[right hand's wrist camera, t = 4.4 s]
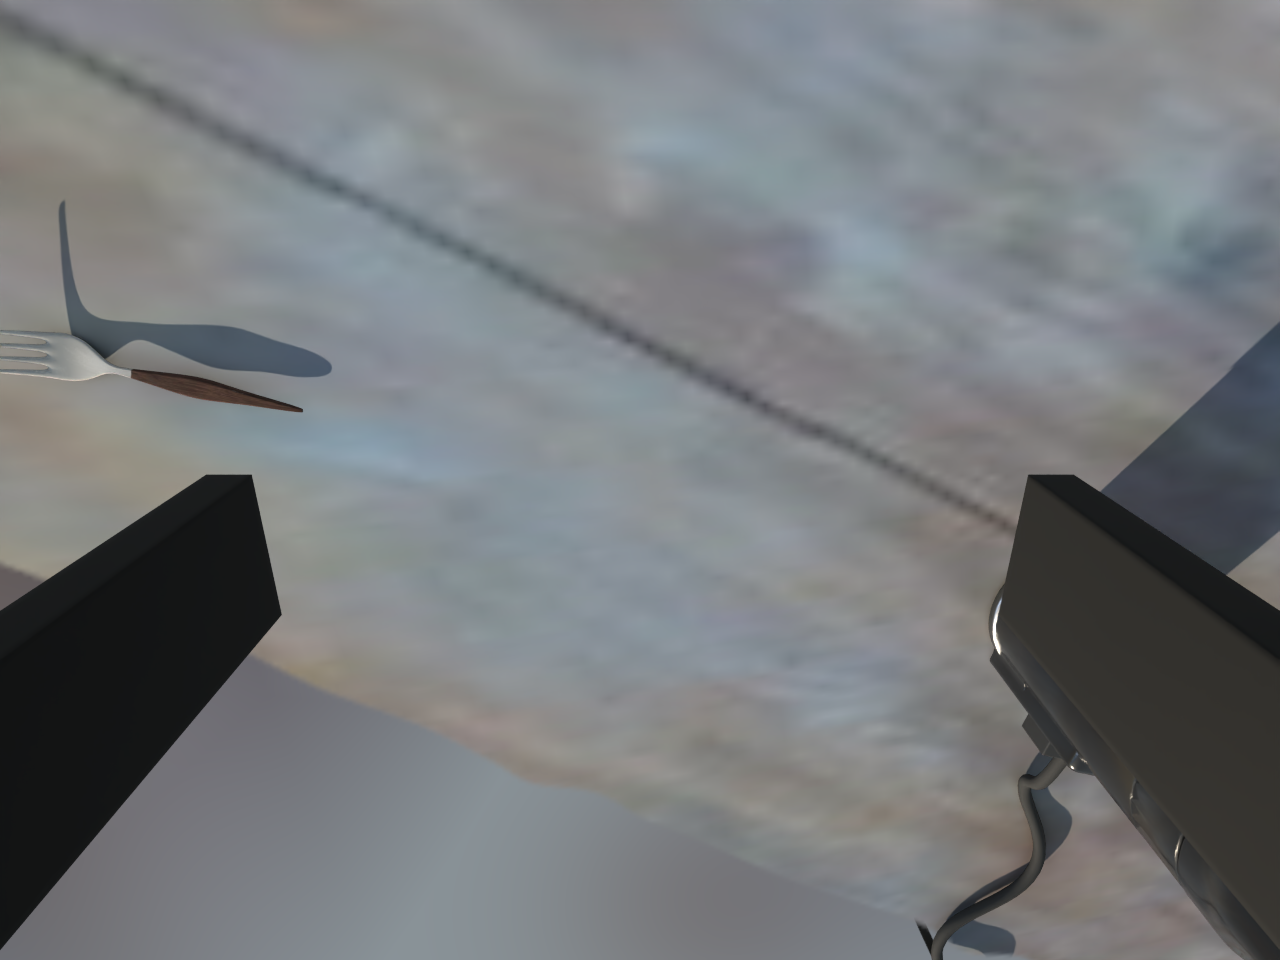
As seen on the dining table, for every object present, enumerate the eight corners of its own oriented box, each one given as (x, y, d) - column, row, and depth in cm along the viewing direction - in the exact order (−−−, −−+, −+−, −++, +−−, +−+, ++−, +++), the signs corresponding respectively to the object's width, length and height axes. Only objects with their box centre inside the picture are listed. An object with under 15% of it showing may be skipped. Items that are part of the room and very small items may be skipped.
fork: (305, 430, 41) (289, 441, 39) (9, 366, 40) (-22, 374, 38) (308, 386, 40) (292, 395, 38) (4, 319, 39) (-28, 325, 37)
